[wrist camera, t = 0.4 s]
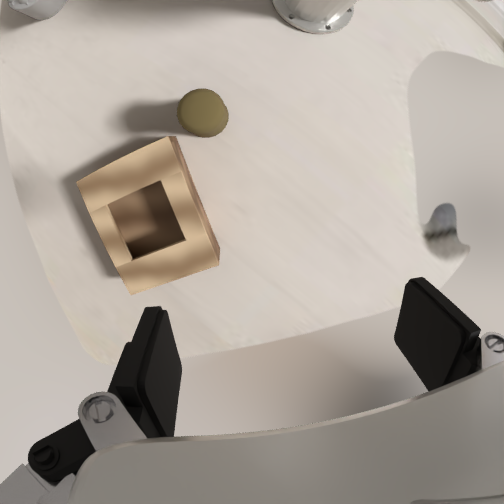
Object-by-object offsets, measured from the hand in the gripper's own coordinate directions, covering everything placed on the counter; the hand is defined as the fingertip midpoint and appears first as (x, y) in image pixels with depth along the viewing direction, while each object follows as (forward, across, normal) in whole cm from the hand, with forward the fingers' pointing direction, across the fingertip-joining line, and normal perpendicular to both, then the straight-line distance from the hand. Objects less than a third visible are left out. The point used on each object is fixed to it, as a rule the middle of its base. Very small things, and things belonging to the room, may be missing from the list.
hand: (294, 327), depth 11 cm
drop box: (+33, +13, +3) cm, 36 cm away
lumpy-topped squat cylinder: (+34, +32, -41) cm, 62 cm away
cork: (+34, +4, -10) cm, 35 cm away
